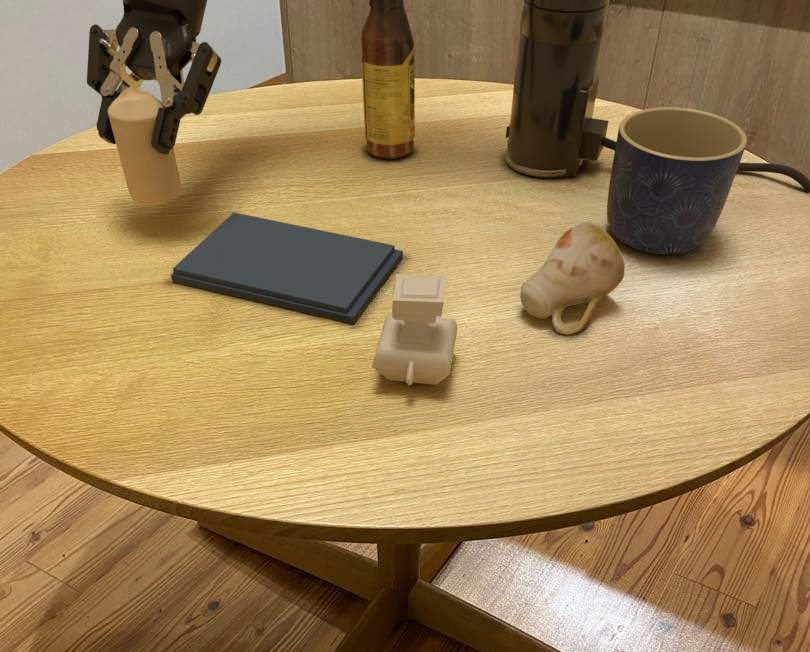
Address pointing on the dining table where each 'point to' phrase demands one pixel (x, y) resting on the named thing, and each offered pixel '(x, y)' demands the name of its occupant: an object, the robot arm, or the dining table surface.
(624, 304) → the dining table surface
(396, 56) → the sauce bottle
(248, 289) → the dark grey rectangular slab
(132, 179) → the candle
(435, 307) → the beige blocky piece
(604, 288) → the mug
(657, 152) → the planter
